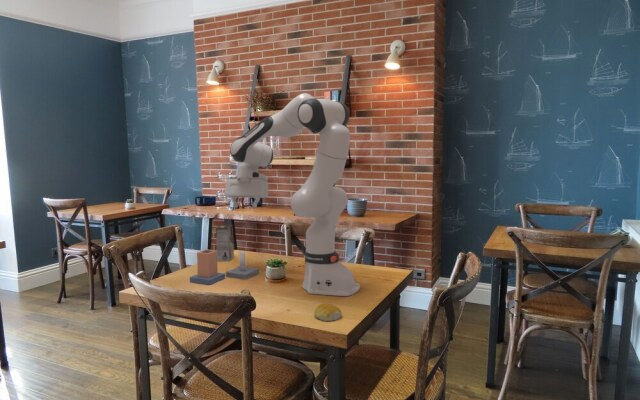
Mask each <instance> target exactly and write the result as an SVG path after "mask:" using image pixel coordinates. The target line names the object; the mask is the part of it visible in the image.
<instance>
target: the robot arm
mask: <svg viewBox="0 0 640 400" xmlns="http://www.w3.org/2000/svg"><path fill="white" fill-rule="evenodd" d="M350 116H351V115H350V109H349V108H348V106H347V105H346V104H345V103H343V102H341V101H339V100H331V99H328V98H315V97H314V96H313V95H312V94H309V93H306V92H303V93H300V94H298V95H297V96H295V97H294V98H293V99H292V100H290V101H289V102H288V103H287V104H286V105H285V106H284V108H282V109H281V110H280V111H278V112H276V113H274V114H273V115H270V116H266V117H265V118H262V119H261V120H260V121H259V122H258V123H256V124H255V125H254V126H253V127H251V128H250V129H249V130H248V131H247V132H245V133H244V134H243V135H241V136H239V137H237V138H236V139H234V140H233V142H232V143H231V145H230V148H229V153H230V155H231V157H232V158H233V160H234V162H239V164H238V167H237V176H229V177H228V178H227V179H226V183H225V184H226V185H225V188H224V192H223V193H224V196H225V197H226V198H229V199H231V202H232V207H233V208H238V207H239V204H238V203H237V199H239V198H254V199H255V200H254V201H253V202H252V203H251V207H252V208H257V207H258V203H259V202H260V200H261V198H267V197H268V195H269V190H270V189H269V183H268V181H269V177H268V176H267V175H265V174H264V173H261V172H259V167H262V168H264V167H268V166H270V165H271V163H272V162H273V160H274V151H273V148H272V147H271V146H270V145H268V144H265V143H261V142H260V141H262V139H264V138H268V137H283V138H292V137H295V136H297V135H299V134H300V133H301V132H302V131H303V130H304V129H305V128H306V129H308V130H309V131H311V133H312V134H319V137H320V139H319V144H318V148H317V152H316V155H315V156H316V157H315V161H314V163H313V166H312V170H311V172H310V174H309V176H308V177H307V179H306V180H305V182H304V184H303V185H302V186H301V187H300V188H299V189H298V190H297V191H295V193H294V194H292V197H291V199H290V207H291V211H292V212H293V213H294V214H295V215H296V216H297V217H298V218H305V219H307V218H308V219H312V218H313V221H312V222H311V224H310V226H309V227H308V228H307V229H306V232H305V251H304V264H305V270H304V271H305V273H304V278H303V281H302V284H301V286H302V289H304V291H306V292H307V293H308V294H310V295H323V296H324V295H325V296H335V297H338V296H339V297H350V296H353V295H355V294H356V293H357V292H359V290H360V289H361V285H360V283H357V282H355V277H354V273H353V271H352V269H351V270H350V269H349V268H348V267H347V266H346V265H345V264H343V263H342V262H341V261H340V257H341V253H340V252H339V253H337V251H336V250H335V245H336V244H335V239H336V229H337V224H338V222H339V219H340V216H341V214H342V212H343V211H344V210H345V209H346V207H347V205H348V200H349V198H348V195H347V193H346V191H345V190H344V189H343V188H342V187H339V186H338V187H337V186H334V185H335V184H336V183H337V182H339V180H341V179H342V177H343V173H344V170H345V166H346V162H347V159H348V156H349V155H348V154H349V149H350V143H351V132H350V130H349V128H348V127H347V126H346V125H347V124H348V122H349V120H350Z"/></svg>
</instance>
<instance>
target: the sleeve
mask: <svg viewBox="0 0 640 400" xmlns="http://www.w3.org/2000/svg"><path fill="white" fill-rule="evenodd" d="M196 254H197V255H196V261H197V262H196V264H197V274H198V276H199V277H205V278H210V277H213V276H215V275H217V274H218V273H219V272H218V261H217V250H213V249H203V250H200V251H197V252H196Z"/></svg>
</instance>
